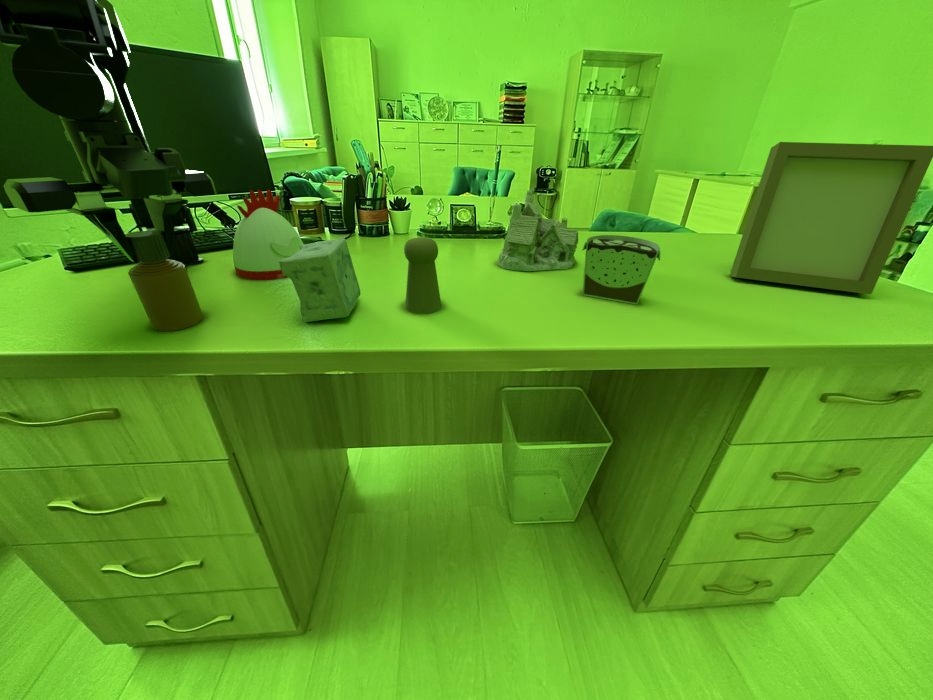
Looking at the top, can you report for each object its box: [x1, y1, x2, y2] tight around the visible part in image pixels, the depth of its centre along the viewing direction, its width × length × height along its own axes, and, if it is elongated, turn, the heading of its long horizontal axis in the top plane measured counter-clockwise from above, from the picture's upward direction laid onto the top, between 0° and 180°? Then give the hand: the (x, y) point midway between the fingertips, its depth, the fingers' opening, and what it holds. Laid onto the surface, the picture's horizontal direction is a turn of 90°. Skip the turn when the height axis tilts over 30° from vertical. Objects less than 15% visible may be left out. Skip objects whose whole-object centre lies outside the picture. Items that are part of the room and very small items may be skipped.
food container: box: [581, 234, 662, 305], centre depth 65 cm, size 12×6×10 cm, turn 65°
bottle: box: [127, 258, 205, 332], centre depth 51 cm, size 6×6×12 cm
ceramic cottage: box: [497, 190, 579, 272], centre depth 80 cm, size 16×16×15 cm
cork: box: [403, 237, 443, 315], centre depth 58 cm, size 6×6×11 cm
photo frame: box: [728, 141, 933, 295], centre depth 72 cm, size 15×22×25 cm
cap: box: [125, 230, 170, 263], centre depth 48 cm, size 4×4×3 cm
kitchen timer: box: [232, 189, 304, 281], centre depth 72 cm, size 14×14×15 cm
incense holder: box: [279, 237, 361, 323], centre depth 56 cm, size 10×8×10 cm
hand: (152, 258), depth 49 cm, fingers closed on cap, 4 cm apart
